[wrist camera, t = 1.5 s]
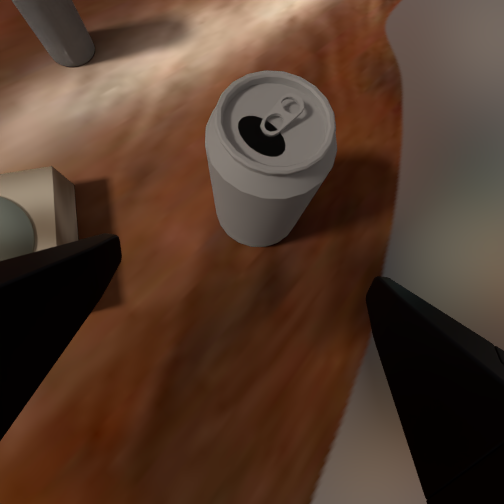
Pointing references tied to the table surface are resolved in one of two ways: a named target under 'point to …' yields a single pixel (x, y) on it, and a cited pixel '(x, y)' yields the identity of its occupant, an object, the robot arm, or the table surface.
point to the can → (268, 154)
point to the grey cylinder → (58, 30)
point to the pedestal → (36, 211)
